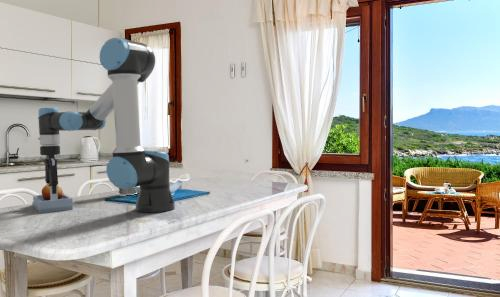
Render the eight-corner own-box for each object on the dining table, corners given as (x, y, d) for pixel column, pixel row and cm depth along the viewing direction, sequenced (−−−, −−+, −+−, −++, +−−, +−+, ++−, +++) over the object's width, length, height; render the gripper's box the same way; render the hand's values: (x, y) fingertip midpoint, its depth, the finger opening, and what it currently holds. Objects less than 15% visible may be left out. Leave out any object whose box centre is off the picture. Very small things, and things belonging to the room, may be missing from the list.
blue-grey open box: (62, 202, 197) (61, 192, 196) (72, 209, 178) (72, 198, 178) (32, 205, 190) (32, 194, 190) (40, 213, 172) (39, 201, 171)
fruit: (48, 195, 188) (55, 179, 187) (61, 205, 186) (68, 189, 185) (33, 198, 181) (40, 182, 179) (46, 209, 179) (54, 192, 177)
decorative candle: (114, 196, 211) (112, 143, 209) (125, 193, 220) (123, 142, 218) (130, 196, 208) (128, 143, 207) (141, 193, 217) (139, 142, 215)
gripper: (36, 145, 188) (38, 198, 189) (43, 146, 171) (46, 204, 172) (55, 144, 192) (57, 196, 193) (64, 145, 175) (67, 202, 176)
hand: (52, 200), depth 183 cm, fingers closed on fruit, 8 cm apart
